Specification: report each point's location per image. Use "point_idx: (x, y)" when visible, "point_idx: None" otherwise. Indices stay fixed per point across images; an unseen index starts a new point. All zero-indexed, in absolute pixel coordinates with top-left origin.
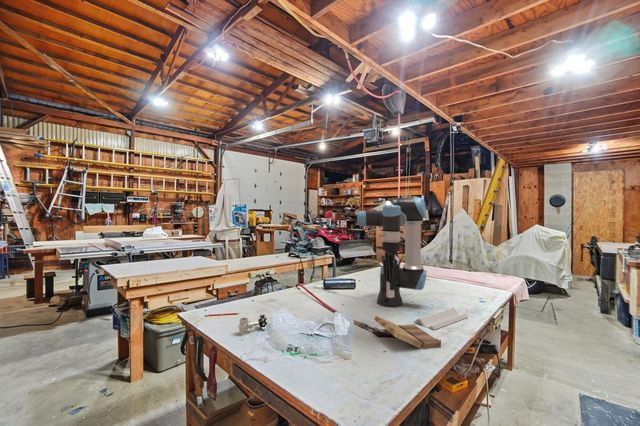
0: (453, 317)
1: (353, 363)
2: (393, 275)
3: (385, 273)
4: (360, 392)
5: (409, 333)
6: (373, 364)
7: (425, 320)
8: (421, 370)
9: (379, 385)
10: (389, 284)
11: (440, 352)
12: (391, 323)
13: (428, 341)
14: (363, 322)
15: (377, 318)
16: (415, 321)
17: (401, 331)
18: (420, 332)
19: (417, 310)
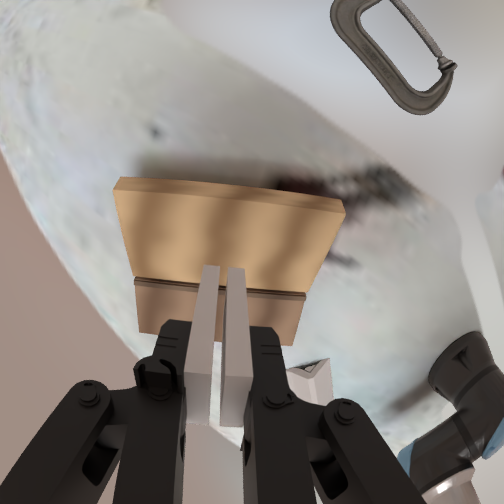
0: None
1: (121, 9)
2: (26, 450)
3: (345, 470)
4: (26, 11)
5: (223, 289)
6: (94, 61)
7: (302, 387)
8: (39, 183)
9: (24, 52)
10: (187, 356)
11: (114, 299)
12: (288, 260)
13: (148, 304)
14: (410, 204)
15: (318, 205)
16: (321, 365)
17: (185, 243)
18: (220, 326)
19: (384, 400)
